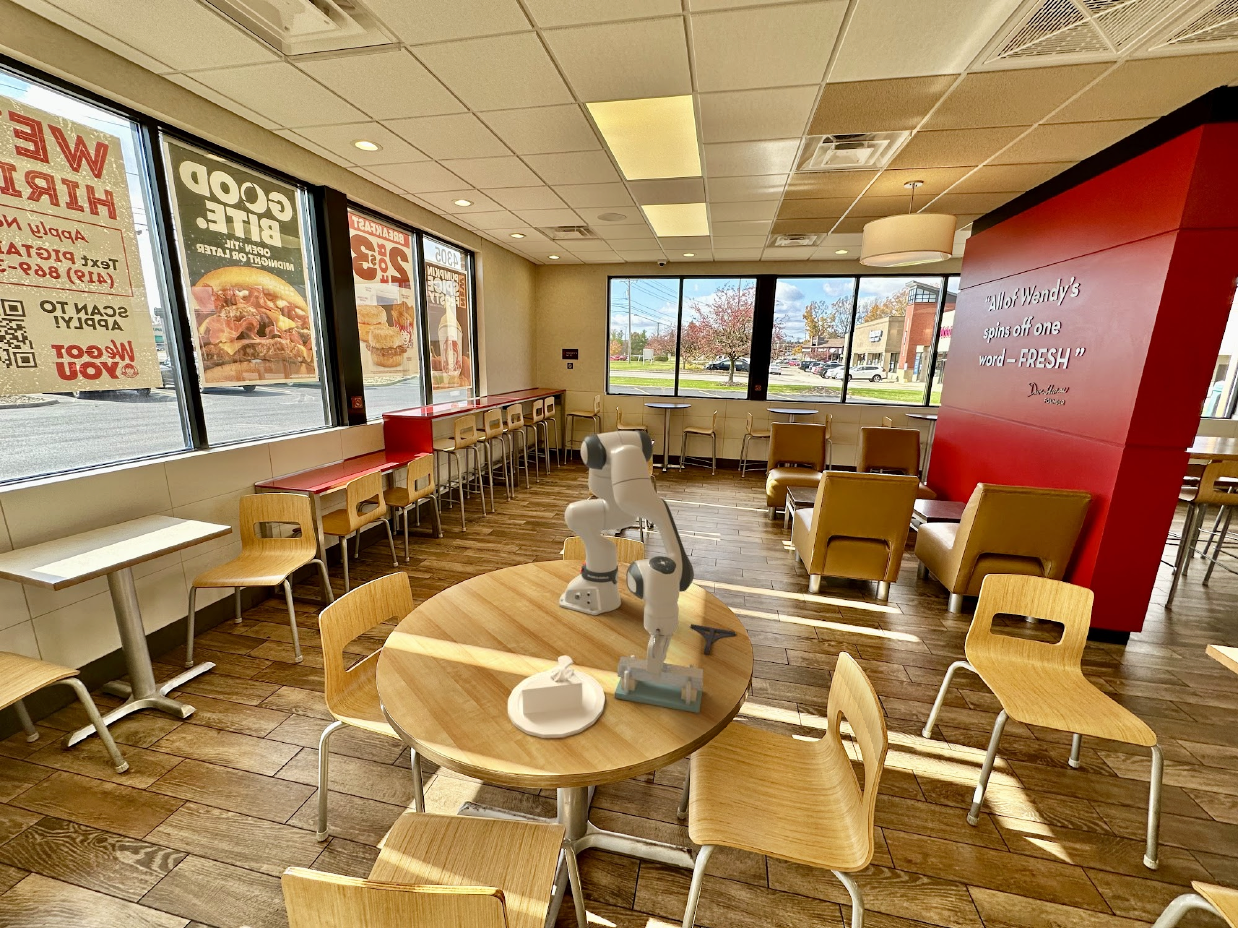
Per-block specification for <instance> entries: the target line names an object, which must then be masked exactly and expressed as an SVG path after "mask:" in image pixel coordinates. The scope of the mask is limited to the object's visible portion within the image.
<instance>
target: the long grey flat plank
mask: <svg viewBox="0 0 1238 928" xmlns="http://www.w3.org/2000/svg"><path fill="white" fill-rule="evenodd" d="M646 661H647V659H642V658H636V657H635V658H631V656H630V657H628V656H623V655H621V656H620V659H619V661H618V664H617V677H618V678H621V677H623V678H624V674H625V671H629V679H635V680H641V681H647V682H652V683H658V684H664V685H670V686H676V687H682V688H686V682H687V681H690V682H691V689H694V690H699V691H701V690H702V691H703V689H702V686H703V681H704V669H703V668H700V667H699V668H698V667H694V668H693V667H690V666H686V665H681V664H680V665H679V664H673V663H666V662H664V664H663V668H662V671H661V674H660V680H659V681H653V675H652V674H650V673H647V671H646Z"/></svg>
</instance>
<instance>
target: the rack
mask: <svg viewBox="0 0 1238 928" xmlns="http://www.w3.org/2000/svg"><path fill="white" fill-rule="evenodd" d="M630 658H636V655H635V654H632V655H630ZM689 667H693V668H695V665H694V664H692V663H691V664H689ZM619 678H620V679H619V680H618V683H617V686H616V688H615V691H614V698H615V699H620V700H624V701H631V702H636V703H641V704H647V705H651V706H652V705H653V706H656V707H657V706H658V707H664V708H668V709H669V708H670V709H674V710H679V711H680V710H681V711H685V712H690V713H697V714H700V710H701V704H702V695H703V689H704V688H703V685H702V690H701V691H699V690H694V689H691V682H690V681H687V682H686V688H682V687H676V686H670V685H664V684H658V683H652V682H647V681H641V680H635V679H629V671H625V674H624V678H623V677H619Z"/></svg>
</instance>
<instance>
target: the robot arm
mask: <svg viewBox="0 0 1238 928" xmlns="http://www.w3.org/2000/svg"><path fill="white" fill-rule="evenodd" d="M653 445H654V444H653V440H652V437H651V436H650V434H648V433H647V432H646V431H643V430H637V429H636V430H634V431H633V430H616V431H610V432H602V433H593V434H588V435H586V436H585V437H584V438H583V440H582V442H581V446H580V456H581V459H582V462H583V464H584V465H585V466H586V467H587V468H588V481H587V482H588V483H587V485H588V486H587V487H588V489H589V491H590V492H591V493H592V494H593V495H594V496H595V497H597V498H598V499H597V498H595V499H594V498H593V499H582V500H578V501H574V502H571V503H570V502H569V504H568V505H567V507H566V509H565V511H564V521H565V524H566V526H567V527H568V529H569V530H571V531H572V532H574V533H575V534H576V535H578V537H579V539H581V541H582V543H583V545H584V549H585V550H584V551H585V561H584V562H583V563H582V566H581V567H580V569H579V575H578V576H576V577H575V578H573V579H572V580H570V582H569V583H568V584H567V586H566V589H565V591H564V592H563V593H562V594H561V596H560V597H559V600H558V605H559V607H561V608H565V609H568V610H573V611H575V612H576V611H577V612H581V613H584V614H588V615H592V616H597V615H600V614H602V613H608V612H611V611H614V610H616V609H619V607H620V606H621V604H622V600H621V595H620V592H619V585H618V581H619V565H618V548H617V545H616V543H615V542H614V541H613V540H611V539H610V538H607V537H605V536H603V535H601V532H602V531H612V530H622V529H625V528H629V527H632V526H634V525H635V523H636V522H637V520H638V518H639V519H640V518H641V519H644V520H647V521H649V522H650V523H652V524H653V525H655V527H656V528H657V530H658V533H659V535H660V539H661V540H662V543H663V546H664V549H665V552H666V553H665V554H666V555H664V556H659V555H658V556H654V557H652V558H651V557H650V558H644V559H638V560H635V561H632V562H631V563H630V565H628V568H627V570H626V576H625V577H626V588H627V589H628V591H629V592H630V593H631V594H633V595H634V596H635V597H637V598H638V599H640V600H644V601H643V602H644V607H643V627H644V630H645V631H647V632H648V634H649V635H650V637H649V641H648V644H647V649H646V660H647V661H646V671H647V673H650V674H652V675H653V681H659V680H660V674H661V671H662V668H663V664H664V663H665V661H666V658H667V653H668V650H669V647H670V642H671V639H672V636H673V634H674V633H676V632H677V631H678V629H679V616H680V615H679V614H680V613H679V612H680V609H679V605H678V601H679V598H680V592H681V593H682V592H686V591H687V590H688V588H689V587H690V586H691V584H692V583H693V580H694V578H695V571H694V568H693V565H692V562H691V560H690V558H689V557H688V555H687V552H686V550H685V548H684V545H683V543H682V542H683V541H682V539H681V536H680V533H679V531H678V528H677V525H676V522H675V519H674V516H673V513H672V512H671V509H670V507H669V505H668V503H667V501H666V500H665V499H663V498H661V497H660V496H659V495H658V493H657V492H656V490H655V488H654V486H653V483H652V479H651V473H650V469H649V465H648V463H649V462H650V460H651V459H652V456H653V452H654V446H653Z"/></svg>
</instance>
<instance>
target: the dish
mask: <svg viewBox="0 0 1238 928" xmlns="http://www.w3.org/2000/svg"><path fill="white" fill-rule="evenodd" d="M557 661H558V664H557V665H555V666H554V667H553V668H551V669H549V670H546V671H540V672H537V673H534V674H533V675H531V676H528V677H526V678H524V679H523V680H522V681H520V683H518V684H517V685H516V686H515V687H514V688H513V689H512V691H511V694H510V695H509V697H508V698H507V716H508V717H509V719H510V720H511V722H512V724H513V726H515V727H516V728H517V729H519V730H520V731H521V732H523V733H525V734H527V735H530V736H534V737H538V738H541V739H558V738H562V739H563V738H565V737H569V736H572V735H576V734H579V733H581V732H583V731H584V730H586V729H587V728H589V727H591V726H592V725H594V724H595V723H596V721H597V720H598V719H599V718H600V716H601V715H602V714H603V712H604V708H605V702H606V697H605V693H604V689H603V687H602V686H601V684H600V683H599V682H598V681H597V680H596V679H595V678H594V677H592V676H590V675H588V674H586V673H585V672H582V671H578V670H574V669H573V668H571V667H570V666H571V665H573V664H574V661H573V659H572V658H571V657H570V656H569V655H561V656H558V657H557Z"/></svg>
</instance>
